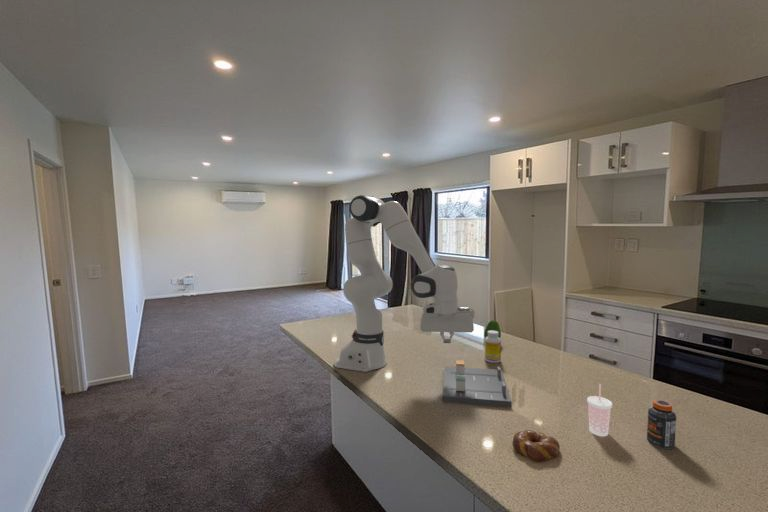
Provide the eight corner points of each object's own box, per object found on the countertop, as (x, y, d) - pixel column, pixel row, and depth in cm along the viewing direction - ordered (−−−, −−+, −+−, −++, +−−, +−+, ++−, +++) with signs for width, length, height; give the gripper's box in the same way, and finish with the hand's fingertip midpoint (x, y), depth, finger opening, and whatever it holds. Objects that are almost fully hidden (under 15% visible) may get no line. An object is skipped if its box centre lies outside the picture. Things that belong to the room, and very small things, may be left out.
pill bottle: (641, 437, 98) (642, 397, 97) (661, 436, 99) (663, 396, 98) (659, 450, 92) (661, 408, 91) (681, 449, 93) (683, 407, 92)
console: (442, 401, 120) (442, 387, 119) (445, 371, 145) (445, 359, 145) (511, 407, 115) (511, 392, 115) (501, 374, 141) (501, 362, 140)
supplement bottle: (501, 364, 152) (501, 334, 151) (485, 363, 153) (485, 333, 152) (499, 358, 158) (500, 330, 157) (484, 357, 160) (484, 329, 159)
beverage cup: (601, 440, 97) (603, 390, 96) (581, 428, 103) (582, 381, 102) (616, 434, 99) (618, 386, 98) (595, 423, 105) (597, 377, 104)
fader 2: (456, 390, 122) (456, 379, 122) (456, 385, 126) (456, 374, 126) (465, 391, 122) (465, 379, 122) (464, 386, 126) (465, 375, 125)
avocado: (504, 344, 177) (504, 320, 176) (493, 347, 172) (493, 323, 171) (491, 340, 183) (491, 317, 182) (480, 343, 179) (480, 319, 178)
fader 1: (456, 374, 136) (456, 363, 136) (456, 370, 140) (456, 360, 140) (464, 374, 136) (464, 364, 135) (464, 370, 139) (464, 360, 139)
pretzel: (548, 437, 99) (548, 424, 99) (569, 463, 88) (570, 448, 88) (505, 438, 99) (505, 425, 98) (521, 464, 88) (522, 450, 88)
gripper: (473, 305, 138) (474, 341, 139) (420, 305, 142) (421, 339, 143) (474, 309, 132) (475, 346, 133) (419, 308, 136) (420, 344, 137)
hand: (447, 342), depth 138 cm, fingers closed
